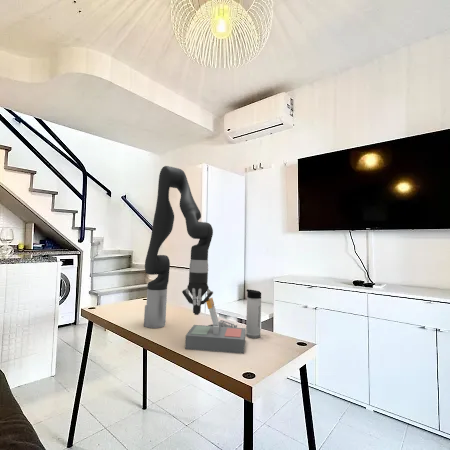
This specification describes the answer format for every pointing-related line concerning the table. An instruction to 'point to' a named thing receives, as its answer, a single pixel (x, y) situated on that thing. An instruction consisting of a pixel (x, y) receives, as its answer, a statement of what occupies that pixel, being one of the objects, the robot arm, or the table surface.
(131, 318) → the table surface
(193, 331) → the breaker base
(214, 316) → the breaker lever
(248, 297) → the travel mug
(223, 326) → the graphics card
